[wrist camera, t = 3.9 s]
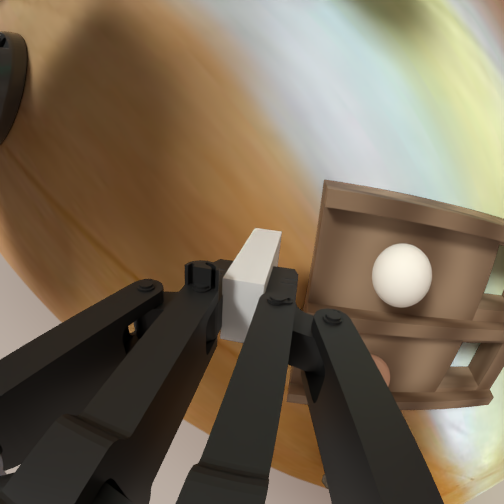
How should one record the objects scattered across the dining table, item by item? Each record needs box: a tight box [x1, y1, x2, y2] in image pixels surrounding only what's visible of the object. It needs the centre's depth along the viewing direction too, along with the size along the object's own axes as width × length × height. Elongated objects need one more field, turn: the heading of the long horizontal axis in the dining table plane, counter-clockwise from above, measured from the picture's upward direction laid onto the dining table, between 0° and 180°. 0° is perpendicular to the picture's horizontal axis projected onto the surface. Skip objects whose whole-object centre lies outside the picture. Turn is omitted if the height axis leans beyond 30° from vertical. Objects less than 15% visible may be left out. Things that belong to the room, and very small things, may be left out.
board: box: [287, 180, 504, 410], centre depth 18 cm, size 20×16×4 cm
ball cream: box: [372, 243, 432, 308], centre depth 15 cm, size 4×4×4 cm
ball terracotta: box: [371, 354, 390, 386], centre depth 18 cm, size 4×4×4 cm
